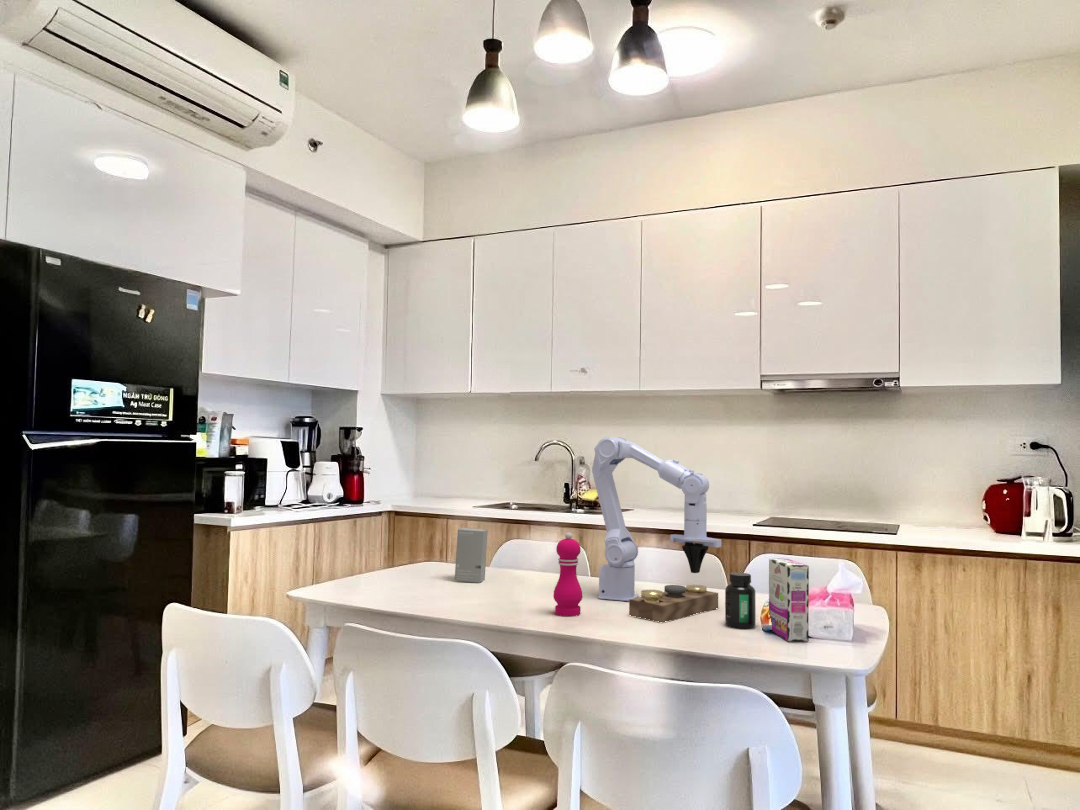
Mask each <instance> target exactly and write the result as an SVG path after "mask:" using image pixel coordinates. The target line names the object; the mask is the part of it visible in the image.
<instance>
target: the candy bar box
mask: <svg viewBox="0 0 1080 810" xmlns="http://www.w3.org/2000/svg"><path fill="white" fill-rule="evenodd" d="M768 568H769V569H768V616H769V615H770V618H771V622H772V631H771V632H772V633H774V634H775V635H776V636H778V637H779V638H782V639H783V640H785V641H786V642H789V643H790V642H791V643H794V642H795V643H797V642H798V643H802V642H803V643H804V642H809V641H810V639H809V634H810V633H809V631H810V630H809V620H810V619H809V614H810V613H809V612H810V610H809V605H810V604H809V592H810V590H809V589H810V588H809V587H810V585H809V583H810V579H809V578H810V577H809V574H810V567H809V565H807V564H804V563H801V562H798V561H796V560H793V559H790V558H781V557H780V558H769V559H768Z"/></svg>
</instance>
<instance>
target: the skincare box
mask: <svg viewBox="0 0 1080 810" xmlns="http://www.w3.org/2000/svg"><path fill="white" fill-rule="evenodd" d="M488 532H489V530H488V529H484V528H470V527H469V528H468V527H461V528H458V529H457V535H456V536H457V538H456V539H457V540H456V550H455V551H456V553H455V554H456V555H455V566H454V567H455V569H454V582H456V583H477V584H479V583H481V582H484V581H485V580H486V565H487V548H488Z"/></svg>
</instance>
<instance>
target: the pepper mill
mask: <svg viewBox="0 0 1080 810" xmlns="http://www.w3.org/2000/svg"><path fill="white" fill-rule="evenodd" d="M564 537H565V538H562V539H561V540H560V541H558V543H557V544H556V553H557V555H558V557H559V558H558V565H559V578H558V579H557V580H558V581H557V582H556V584H555V586H554V590H553V600H554V601H555V602H556V605H555V606H554V611H555V612H554V614H555V615H557V616H560V615H561V617H576V615H577V616H579V614H581V606H580V605H579V604H580V603H581V602H582V600H583V597H584V596H583V590H582V587H581V585H580V583H579V579H578V575H577V566H578V565H579V558H578V556H579V555H580V554H581V544H580V543H579V542H578V540H575V539H574V538H573V535H572V532H566V533H565V534H564Z"/></svg>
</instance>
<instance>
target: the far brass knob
mask: <svg viewBox="0 0 1080 810" xmlns="http://www.w3.org/2000/svg"><path fill="white" fill-rule="evenodd" d="M685 587H686V591H687V592H690V593H698V594H699V593H706V592H707V591H708V589H707V586H706V585H700V584H687V585H686V586H685Z"/></svg>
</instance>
